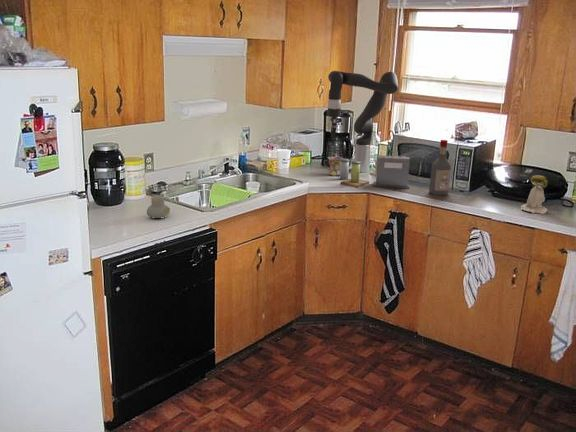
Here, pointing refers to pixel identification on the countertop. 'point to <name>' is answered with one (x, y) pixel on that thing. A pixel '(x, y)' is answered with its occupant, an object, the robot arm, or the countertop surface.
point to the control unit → (392, 171)
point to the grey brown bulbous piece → (157, 207)
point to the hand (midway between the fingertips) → (332, 135)
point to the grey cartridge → (344, 169)
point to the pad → (359, 184)
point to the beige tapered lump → (536, 195)
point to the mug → (334, 165)
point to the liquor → (440, 173)
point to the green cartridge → (355, 171)
